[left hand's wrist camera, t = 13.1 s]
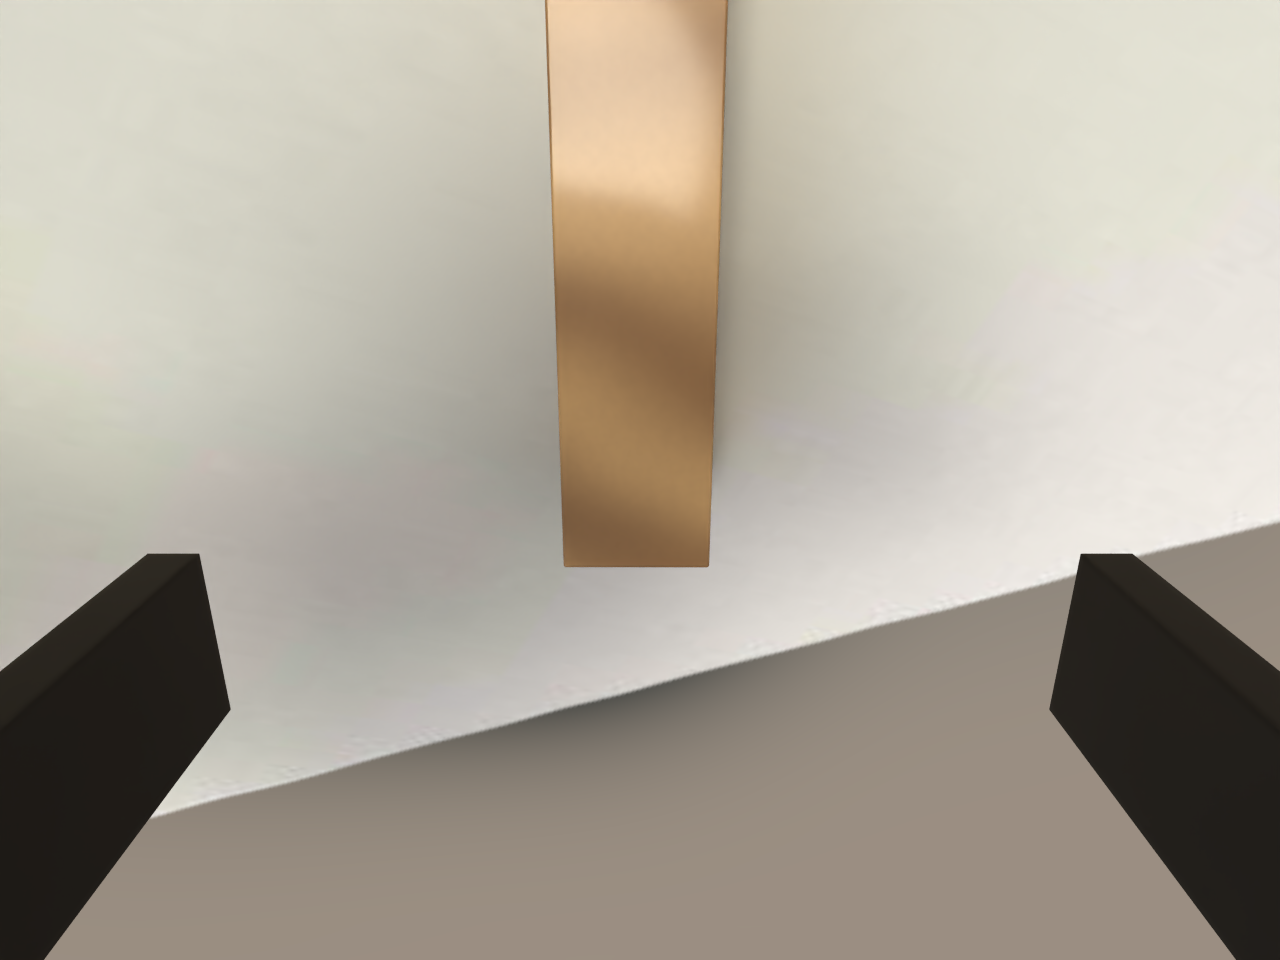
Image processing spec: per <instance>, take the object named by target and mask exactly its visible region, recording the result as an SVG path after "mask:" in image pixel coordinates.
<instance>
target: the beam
mask: <svg viewBox="0 0 1280 960" xmlns="http://www.w3.org/2000/svg"><path fill="white" fill-rule="evenodd" d="M727 14H728V0H545V15H546V45H547V75H548V105H549V135H550V166H551V196H552V226H553V256H554V286H555V316H556V346H557V377H558V407H559V437H560V467H561V497H562V527H563V557H564V566H565V567H708V566H709V550H710V521H711V491H712V461H713V431H714V402H715V372H716V342H717V312H718V282H719V253H720V223H721V193H722V163H723V134H724V104H725V74H726V44H727Z"/></svg>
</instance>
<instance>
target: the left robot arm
mask: <svg viewBox="0 0 1280 960" xmlns="http://www.w3.org/2000/svg"><path fill="white" fill-rule="evenodd" d="M230 710H231V709H230V704H229V699H228V694H227V689H226V684H225V679H224V674H223V669H222V664H221V659H220V654H219V649H218V644H217V639H216V634H215V630H214V625H213V620H212V615H211V610H210V605H209V600H208V595H207V590H206V585H205V580H204V575H203V570H202V565H201V560H200V555H199V554H147V555H146V556H144V557H143V558H142V559H141V560H139V561H138V562H137V563H136V564H134V565H133V566H132V567H131V568H129V569H128V570H127V571H126V572H124V573H123V574H122V575H120V576H119V577H118V578H117V579H115V580H114V581H113V582H112V583H110V584H109V585H108V586H107V587H105V588H104V589H103V590H102V591H100V592H99V593H98V594H97V595H95V596H94V597H93V598H92V599H90V600H89V601H88V602H87V603H85V604H84V605H83V606H82V607H80V608H79V609H78V610H77V611H75V612H74V613H73V614H72V615H70V616H69V617H68V618H67V619H65V620H64V621H63V622H62V623H60V624H59V625H58V626H57V627H55V628H54V629H53V630H52V631H50V632H49V633H48V634H47V635H45V636H44V637H43V638H42V639H40V640H39V641H38V642H37V643H35V644H34V645H33V646H32V647H30V648H29V649H28V650H26V651H25V652H24V653H23V654H21V655H20V656H19V657H18V658H16V659H15V660H14V661H13V662H11V663H10V664H9V665H8V666H6V667H5V668H4V669H3V670H1V671H0V960H44V959H45V957H46V956H47V955H48V953H49V952H50V951H51V950H52V948H53V947H54V945H55V944H56V943H57V941H58V940H59V939H60V937H61V936H62V935H63V933H64V932H65V931H66V929H67V928H68V927H69V925H70V924H71V923H72V921H73V920H74V919H75V917H76V916H77V915H78V913H79V912H80V911H81V909H82V908H83V907H84V905H85V904H86V903H87V901H88V900H89V899H90V897H91V896H92V894H93V893H94V892H95V891H96V889H97V888H98V886H99V885H100V884H101V882H102V881H103V880H104V878H105V877H106V876H107V874H108V873H109V872H110V870H111V869H112V868H113V866H114V865H115V864H116V862H117V861H118V860H119V858H120V857H121V856H122V854H123V853H124V852H125V850H126V849H127V848H128V846H129V845H130V844H131V842H132V841H133V840H134V838H135V837H136V835H137V834H138V833H139V832H140V830H141V829H142V828H143V826H144V825H145V824H146V822H147V821H148V820H149V818H150V817H151V816H152V814H153V813H154V811H155V810H156V809H157V807H158V806H159V805H160V803H161V802H162V801H163V799H164V798H165V797H166V795H167V794H168V793H169V791H170V790H171V789H172V787H173V786H174V785H175V783H176V782H177V781H178V779H179V778H180V777H181V775H182V774H183V773H184V771H185V770H186V769H187V767H188V766H189V765H190V763H191V762H192V761H193V759H194V758H195V757H196V755H197V754H198V753H199V751H200V750H201V749H202V747H203V746H204V744H205V743H206V742H207V740H208V739H209V738H210V736H211V735H212V734H213V732H214V731H215V730H216V728H217V727H218V726H219V724H220V723H221V722H222V720H223V719H224V718H225V716H226V715H227V714H228V712H229V711H230ZM1050 711H1051V712H1052V714H1053V715H1054V716H1055V718H1056V719H1057V720H1058V722H1059V723H1060V724H1061V726H1062V727H1063V728H1064V730H1065V731H1066V732H1067V734H1068V735H1069V736H1070V738H1071V739H1072V740H1073V742H1074V743H1075V744H1076V746H1077V747H1078V749H1079V750H1080V751H1081V753H1082V754H1083V755H1084V757H1085V758H1086V759H1087V761H1088V762H1089V763H1090V765H1091V766H1092V767H1093V769H1094V770H1095V771H1096V773H1097V774H1098V775H1099V777H1100V778H1101V779H1102V781H1103V782H1104V783H1105V785H1106V786H1107V787H1108V789H1109V790H1110V791H1111V793H1112V794H1113V795H1114V797H1115V798H1116V799H1117V801H1118V802H1119V803H1120V805H1121V806H1122V807H1123V809H1124V810H1125V811H1126V813H1127V814H1128V816H1129V817H1130V818H1131V819H1132V821H1133V822H1134V824H1135V825H1136V826H1137V828H1138V829H1139V830H1140V832H1141V833H1142V834H1143V836H1144V837H1145V838H1146V840H1147V841H1148V842H1149V844H1150V845H1151V846H1152V848H1153V849H1154V850H1155V852H1156V853H1157V854H1158V856H1159V857H1160V858H1161V860H1162V861H1163V862H1164V864H1165V865H1166V866H1167V868H1168V869H1169V870H1170V872H1171V873H1172V874H1173V876H1174V877H1175V878H1176V880H1177V881H1178V882H1179V884H1180V885H1181V886H1182V888H1183V889H1184V891H1185V892H1186V893H1187V895H1188V896H1189V897H1190V899H1191V900H1192V901H1193V903H1194V904H1195V905H1196V907H1197V908H1198V909H1199V911H1200V912H1201V913H1202V915H1203V916H1204V917H1205V919H1206V920H1207V921H1208V923H1209V924H1210V925H1211V927H1212V928H1213V929H1214V931H1215V932H1216V933H1217V935H1218V936H1219V937H1220V939H1221V940H1222V941H1223V943H1224V944H1225V945H1226V947H1227V948H1228V949H1229V951H1230V952H1231V953H1232V955H1233V956H1234V958H1235V959H1236V960H1280V671H1279V670H1277V669H1276V668H1275V667H1274V666H1272V665H1271V664H1270V663H1268V662H1267V661H1266V660H1265V659H1264V658H1262V657H1261V656H1260V655H1259V654H1257V653H1256V652H1255V651H1254V650H1252V649H1251V648H1250V647H1248V646H1247V645H1246V644H1245V643H1243V642H1242V641H1241V640H1240V639H1238V638H1237V637H1236V636H1235V635H1233V634H1232V633H1231V632H1230V631H1228V630H1227V629H1226V628H1225V627H1223V626H1222V625H1221V624H1220V623H1218V622H1217V621H1216V620H1215V619H1213V618H1212V617H1211V616H1210V615H1208V614H1207V613H1206V612H1205V611H1203V610H1202V609H1201V608H1200V607H1198V606H1197V605H1196V604H1195V603H1193V602H1192V601H1191V600H1190V599H1188V598H1187V597H1186V596H1185V595H1183V594H1182V593H1181V592H1180V591H1178V590H1177V589H1176V588H1175V587H1173V586H1172V585H1171V584H1170V583H1168V582H1167V581H1166V580H1164V579H1163V578H1162V577H1161V576H1159V575H1158V574H1157V573H1156V572H1154V571H1153V570H1152V569H1151V568H1149V567H1148V566H1147V565H1146V564H1144V563H1143V562H1142V561H1141V560H1139V559H1138V558H1137V557H1136V556H1134V555H1133V554H1081V555H1080V560H1079V565H1078V570H1077V575H1076V580H1075V585H1074V590H1073V595H1072V600H1071V605H1070V610H1069V615H1068V620H1067V625H1066V630H1065V635H1064V640H1063V644H1062V649H1061V654H1060V659H1059V664H1058V669H1057V674H1056V679H1055V684H1054V689H1053V694H1052V699H1051V704H1050Z"/></svg>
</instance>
